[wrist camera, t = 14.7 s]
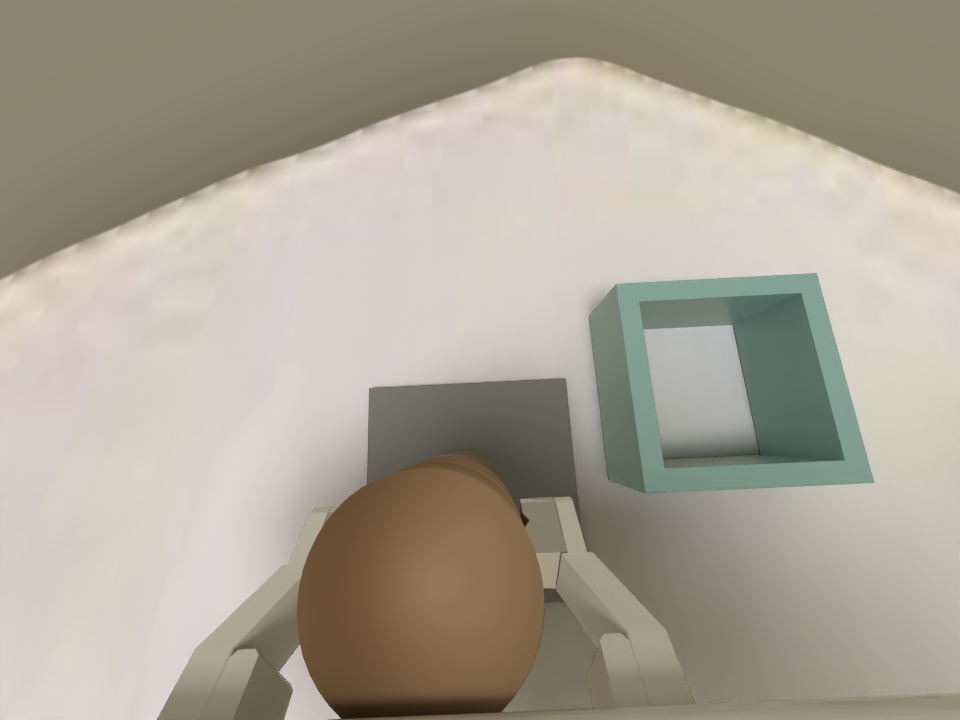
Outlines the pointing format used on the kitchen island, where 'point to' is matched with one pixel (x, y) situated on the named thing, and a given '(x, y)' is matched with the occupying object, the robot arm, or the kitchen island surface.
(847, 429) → the tub
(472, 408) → the mat
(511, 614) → the walnut peg
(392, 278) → the kitchen island surface
